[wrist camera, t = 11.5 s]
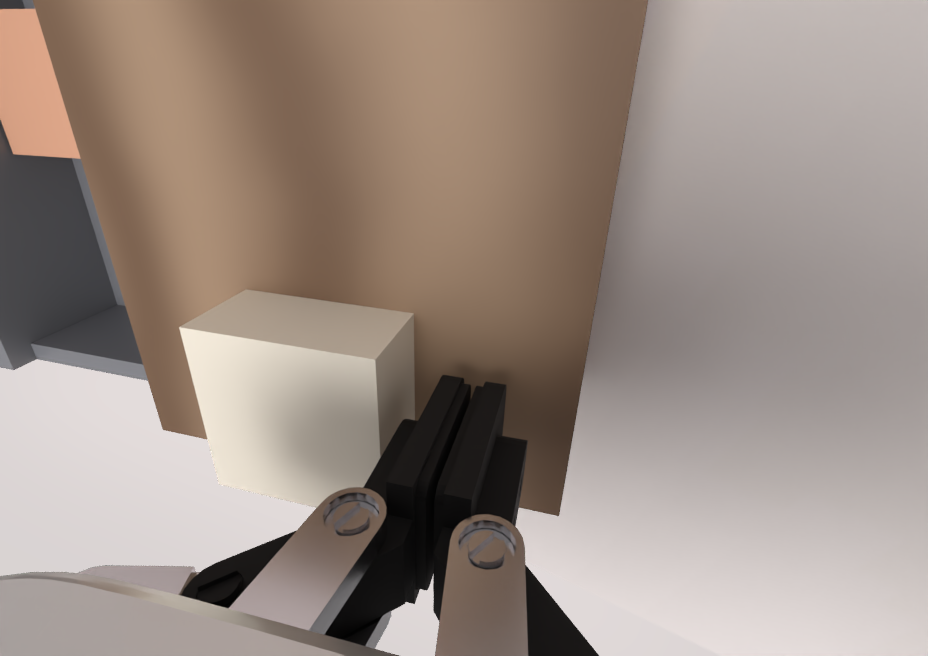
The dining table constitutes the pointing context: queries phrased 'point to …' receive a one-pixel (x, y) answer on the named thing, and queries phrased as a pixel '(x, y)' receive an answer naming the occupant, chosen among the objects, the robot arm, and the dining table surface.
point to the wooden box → (362, 177)
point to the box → (57, 268)
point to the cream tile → (299, 391)
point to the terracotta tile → (31, 90)
